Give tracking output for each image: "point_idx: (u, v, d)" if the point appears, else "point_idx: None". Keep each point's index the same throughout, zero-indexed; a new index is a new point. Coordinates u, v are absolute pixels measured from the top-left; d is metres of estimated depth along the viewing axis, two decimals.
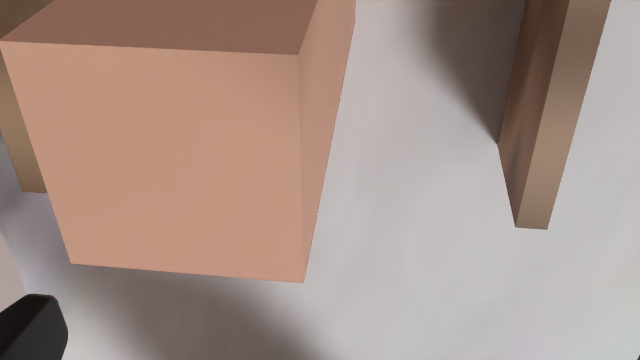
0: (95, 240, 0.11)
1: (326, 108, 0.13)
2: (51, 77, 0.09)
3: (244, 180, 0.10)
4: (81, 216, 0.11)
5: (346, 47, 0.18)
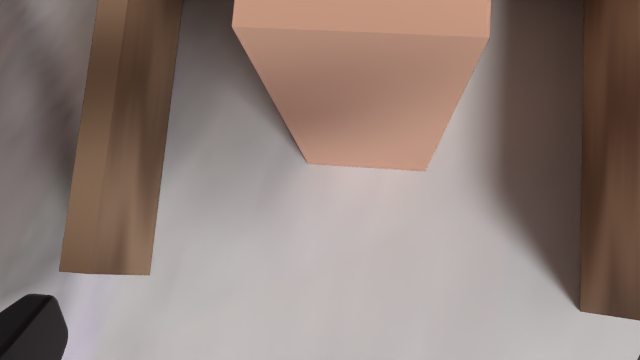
0: None
1: None
2: None
3: None
4: None
5: None
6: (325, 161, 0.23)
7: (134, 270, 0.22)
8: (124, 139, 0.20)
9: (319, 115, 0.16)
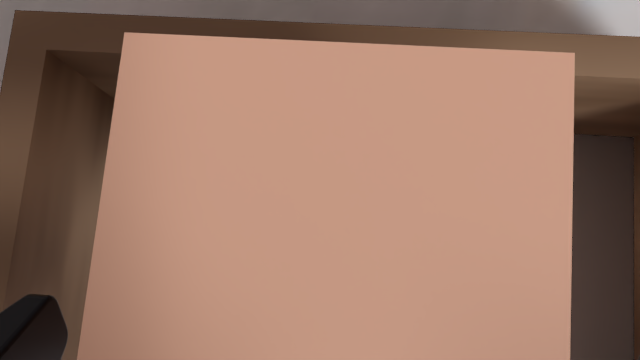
0: None
1: None
2: (182, 87, 0.06)
3: (464, 280, 0.06)
4: None
5: None
6: None
7: None
8: None
9: None
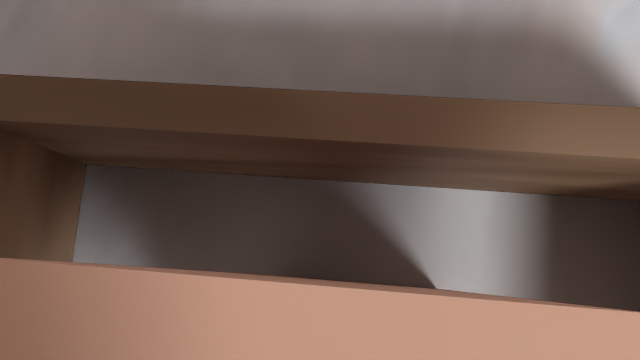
0: None
1: None
2: (30, 351, 0.04)
3: None
4: None
5: None
6: None
7: None
8: None
9: None
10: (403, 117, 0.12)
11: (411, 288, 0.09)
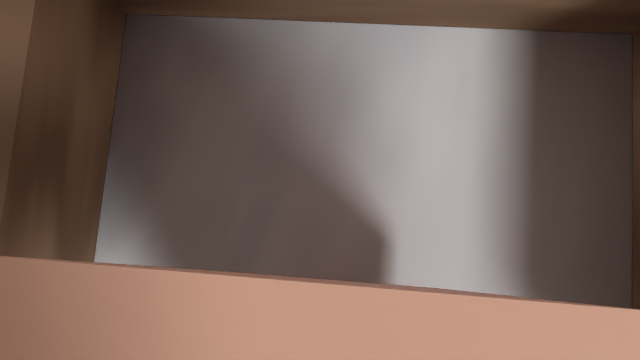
0: None
1: None
2: (30, 349, 0.04)
3: None
4: None
5: None
6: None
7: None
8: (27, 236, 0.15)
9: None
10: None
11: (411, 287, 0.09)
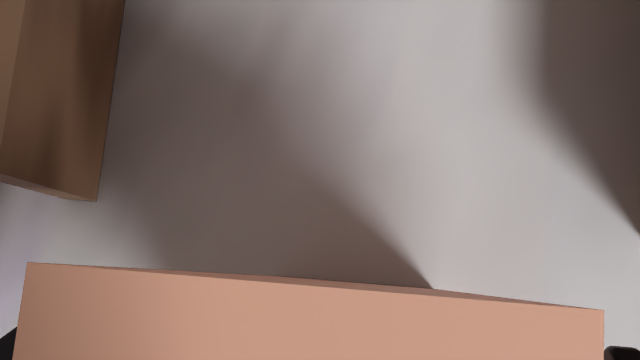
0: None
1: None
2: (98, 340, 0.05)
3: None
4: None
5: None
6: None
7: (72, 188, 0.17)
8: (54, 8, 0.15)
9: None
10: None
11: None
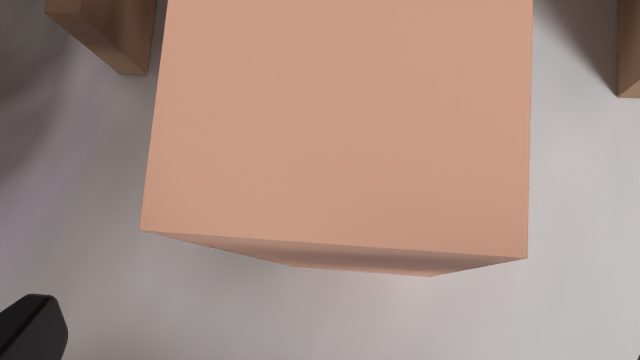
0: (196, 180, 0.07)
1: None
2: None
3: (450, 62, 0.07)
4: (192, 134, 0.07)
5: None
6: (311, 267, 0.19)
7: (130, 55, 0.20)
8: None
9: (293, 258, 0.13)
10: None
11: None
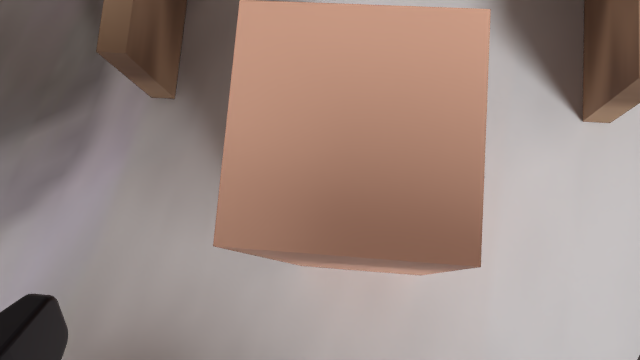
0: (253, 211, 0.10)
1: None
2: (273, 30, 0.11)
3: (429, 130, 0.10)
4: (249, 178, 0.11)
5: None
6: None
7: (162, 83, 0.23)
8: None
9: None
10: None
11: None
